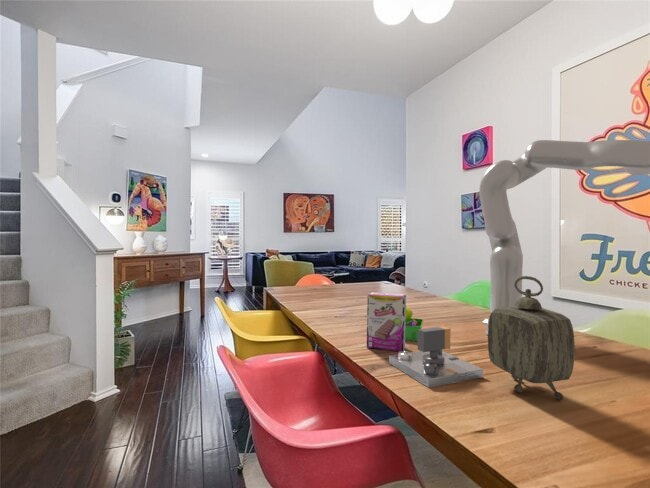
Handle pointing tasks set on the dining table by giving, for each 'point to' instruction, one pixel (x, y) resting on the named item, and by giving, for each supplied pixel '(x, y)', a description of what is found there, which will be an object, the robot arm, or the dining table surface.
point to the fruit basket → (412, 326)
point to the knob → (433, 343)
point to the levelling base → (441, 369)
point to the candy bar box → (386, 321)
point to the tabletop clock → (531, 341)
